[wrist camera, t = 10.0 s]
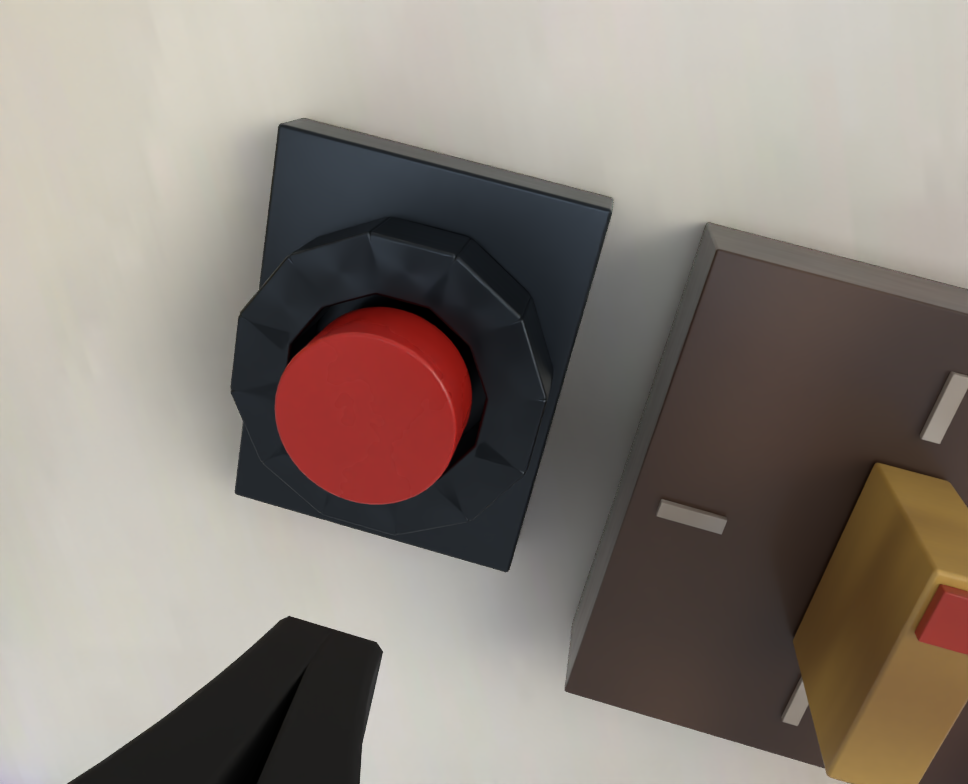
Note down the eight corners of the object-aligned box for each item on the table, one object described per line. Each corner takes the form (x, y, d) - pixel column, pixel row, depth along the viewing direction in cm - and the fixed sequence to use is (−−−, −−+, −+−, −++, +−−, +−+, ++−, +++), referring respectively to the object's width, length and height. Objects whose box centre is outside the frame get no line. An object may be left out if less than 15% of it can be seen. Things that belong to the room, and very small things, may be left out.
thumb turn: (859, 660, 19) (913, 813, 15) (790, 640, 19) (828, 789, 15) (950, 480, 17) (1039, 605, 13) (874, 459, 17) (940, 579, 13)
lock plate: (1186, 345, 18) (1274, 395, 15) (949, 736, 22) (988, 822, 20) (706, 221, 18) (717, 250, 16) (571, 626, 23) (563, 697, 20)
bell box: (302, 116, 19) (244, 131, 16) (614, 197, 18) (610, 226, 16) (256, 468, 22) (202, 529, 20) (515, 542, 22) (498, 615, 19)
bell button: (317, 285, 17) (285, 310, 16) (490, 332, 17) (475, 363, 15) (294, 440, 19) (263, 477, 17) (453, 484, 19) (435, 527, 17)
